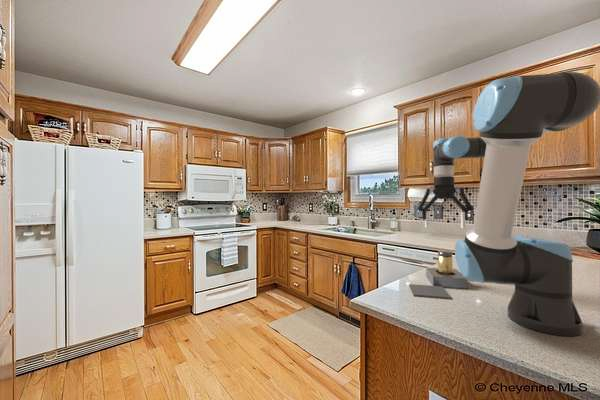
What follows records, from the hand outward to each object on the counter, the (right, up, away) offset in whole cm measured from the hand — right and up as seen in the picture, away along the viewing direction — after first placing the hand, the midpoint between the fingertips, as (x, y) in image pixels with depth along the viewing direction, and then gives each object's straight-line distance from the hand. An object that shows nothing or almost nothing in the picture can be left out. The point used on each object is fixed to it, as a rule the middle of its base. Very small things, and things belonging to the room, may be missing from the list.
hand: (444, 227), depth 108 cm
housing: (0, -23, 0) cm, 23 cm away
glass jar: (0, -23, 0) cm, 23 cm away
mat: (-12, -23, -11) cm, 28 cm away
